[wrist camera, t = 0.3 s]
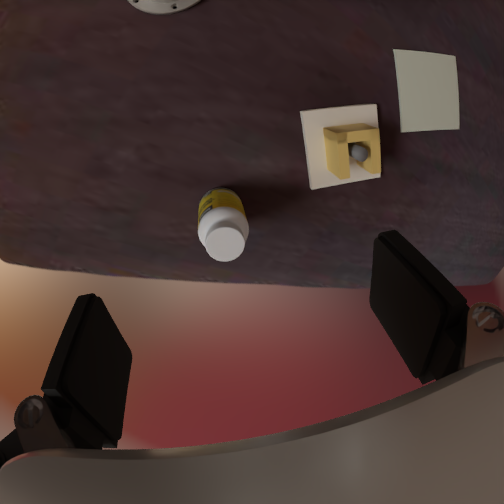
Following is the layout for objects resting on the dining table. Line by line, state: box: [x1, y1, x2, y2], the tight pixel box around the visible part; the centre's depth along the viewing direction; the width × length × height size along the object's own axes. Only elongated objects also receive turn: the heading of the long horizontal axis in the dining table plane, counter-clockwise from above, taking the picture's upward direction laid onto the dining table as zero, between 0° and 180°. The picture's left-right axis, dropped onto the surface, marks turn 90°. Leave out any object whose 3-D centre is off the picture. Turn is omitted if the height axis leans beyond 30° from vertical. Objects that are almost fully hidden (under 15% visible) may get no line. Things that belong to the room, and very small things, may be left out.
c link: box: [323, 123, 381, 180], centre depth 40 cm, size 6×6×5 cm
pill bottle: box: [198, 188, 249, 261], centre depth 41 cm, size 6×6×12 cm
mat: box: [393, 49, 459, 132], centre depth 39 cm, size 14×14×1 cm
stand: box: [300, 104, 380, 190], centre depth 41 cm, size 12×12×6 cm
